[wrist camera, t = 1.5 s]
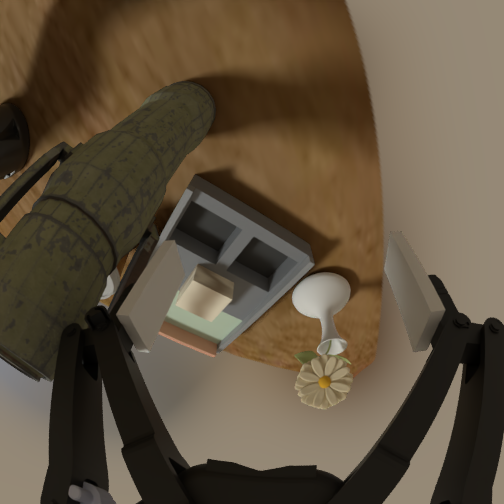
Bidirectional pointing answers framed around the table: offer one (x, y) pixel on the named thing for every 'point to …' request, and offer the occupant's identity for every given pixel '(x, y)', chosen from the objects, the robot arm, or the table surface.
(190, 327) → the box
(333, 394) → the flower in vase
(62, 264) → the thermos
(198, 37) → the table surface
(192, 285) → the birch block
